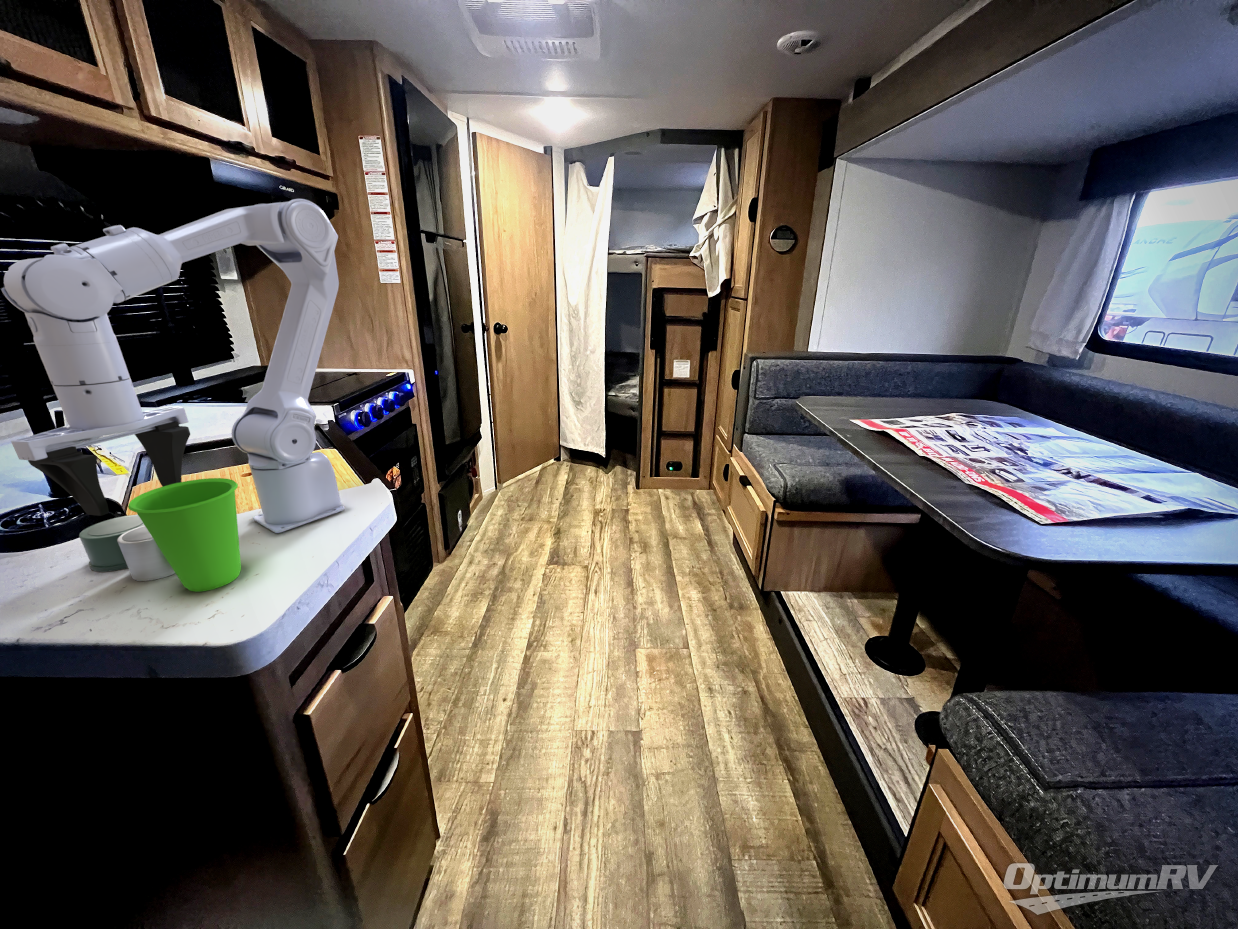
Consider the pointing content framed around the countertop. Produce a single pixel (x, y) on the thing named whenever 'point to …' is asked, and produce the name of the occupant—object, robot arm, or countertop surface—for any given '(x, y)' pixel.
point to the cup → (195, 530)
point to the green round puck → (107, 542)
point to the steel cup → (143, 555)
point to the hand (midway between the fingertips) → (137, 499)
